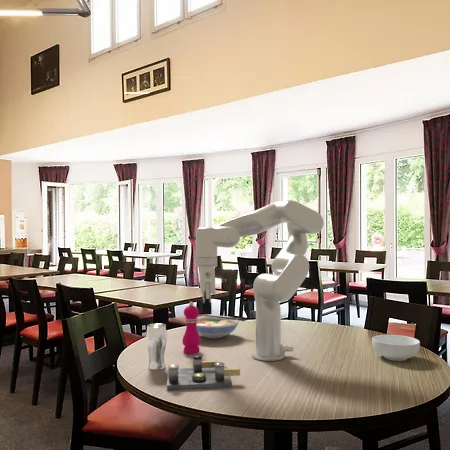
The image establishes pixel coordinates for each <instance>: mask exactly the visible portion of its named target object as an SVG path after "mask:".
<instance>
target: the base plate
mask: <svg viewBox="0 0 450 450" xmlns="http://www.w3.org/2000/svg"><path fill="white" fill-rule="evenodd" d="M224 369H227V366H225V365H224ZM166 376H167V377H166V379H167V381H166V391H170V392H171V391H189V390H209V389H211V390H212V389H230V388H231V389H232V388H233V381H232V379H231V376H224V379H221V380H218V379H215V368H202V370H201V371H193V367H183V368H182V367H179V368H178V381H175V382H171V381H169V368H168V369H167V375H166Z"/></svg>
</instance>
